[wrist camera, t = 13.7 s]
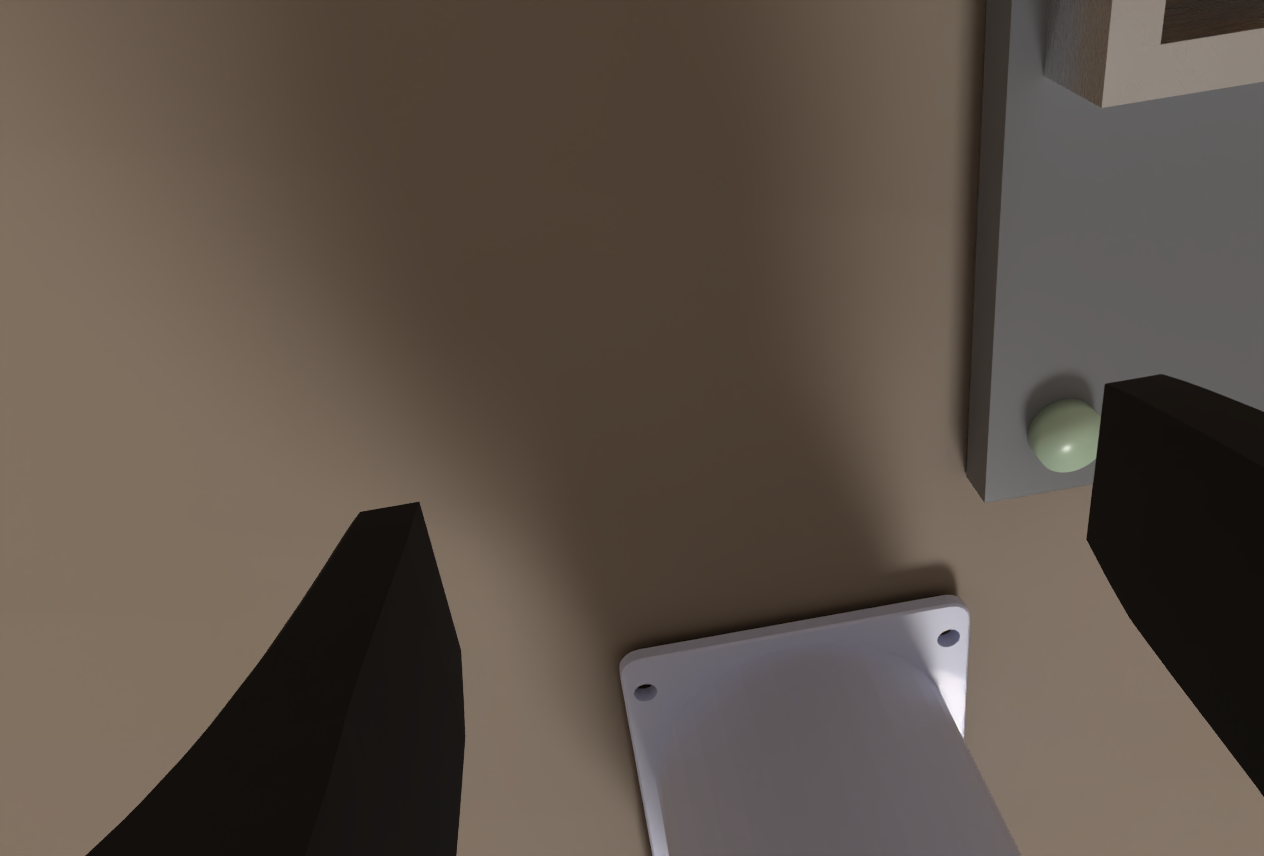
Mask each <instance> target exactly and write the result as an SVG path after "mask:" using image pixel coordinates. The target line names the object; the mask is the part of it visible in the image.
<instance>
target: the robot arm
mask: <svg viewBox="0 0 1264 856" xmlns="http://www.w3.org/2000/svg"><path fill="white" fill-rule="evenodd" d="M1087 541H1088V543H1089V545H1090V547H1091V549H1092V551H1093V553H1094V555H1095V556H1096V558H1097V560H1098V562H1099V564H1100V566H1101V568H1102V570H1103V572H1104V574H1105V576H1106V577H1107V579H1108V581H1109V583H1110V585H1111V587H1112V588H1113V590H1114V592H1115V594H1116V595H1117V597H1118V599H1119V600H1120V602H1121V604H1122V606H1123V607H1124V609H1125V611H1126V613H1127V614H1128V616H1129V618H1130V619H1131V621H1132V622H1133V623H1134V625H1135V626H1136V627H1137V629H1138V630H1139V632H1140V633H1141V634H1142V636H1143V637H1144V639H1145V640H1146V641H1147V643H1148V644H1149V645H1150V647H1151V648H1152V649H1153V651H1154V652H1155V653H1156V655H1157V656H1158V657H1159V659H1160V660H1161V661H1162V663H1163V664H1164V665H1165V667H1166V668H1167V669H1168V671H1169V672H1170V673H1171V675H1172V676H1173V677H1174V679H1175V680H1176V681H1177V683H1178V684H1179V685H1180V687H1181V688H1182V689H1183V691H1184V692H1185V693H1186V695H1187V696H1188V697H1189V698H1190V700H1191V701H1192V702H1193V704H1194V705H1195V706H1196V708H1197V709H1198V710H1199V712H1200V713H1201V714H1202V716H1203V717H1204V718H1205V720H1206V721H1207V722H1208V723H1209V725H1210V726H1211V727H1212V729H1213V730H1214V731H1215V733H1216V734H1217V735H1218V737H1219V738H1220V739H1221V741H1222V742H1223V743H1224V744H1225V746H1226V747H1227V748H1228V750H1229V751H1230V752H1231V754H1232V755H1233V756H1234V758H1235V759H1236V760H1237V762H1238V763H1239V764H1240V766H1241V767H1242V768H1243V769H1244V771H1245V772H1246V773H1247V775H1248V776H1249V777H1250V779H1251V780H1252V781H1253V783H1254V784H1255V785H1256V787H1257V788H1258V789H1259V791H1260V792H1261V794H1262V795H1263V796H1264V412H1263V411H1261V410H1258V409H1256V408H1253V407H1251V406H1248V405H1246V404H1243V403H1241V402H1238V401H1236V400H1233V399H1231V398H1228V397H1226V396H1223V395H1221V394H1218V393H1216V392H1213V391H1211V390H1208V389H1205V388H1202V387H1200V386H1197V385H1194V384H1191V383H1189V382H1186V381H1183V380H1180V379H1177V378H1173V377H1170V376H1167V375H1164V374H1158V375H1153V376H1147V377H1141V378H1135V379H1129V380H1124V381H1118V382H1112V383H1106V384H1105V386H1104V395H1103V403H1102V412H1101V420H1100V429H1099V437H1098V446H1097V454H1096V463H1095V471H1094V480H1093V489H1092V497H1091V506H1090V514H1089V523H1088V531H1087ZM969 628H970V614H969V610H968V608H967V607H966V605H965V603H964V602H963V600H962V599H961V598H960V597H957V596H955V595H941V596H936V597H930V598H924V599H919V600H913V601H908V602H902V603H896V604H891V605H885V606H880V607H874V608H868V609H863V610H857V611H851V612H846V613H840V614H835V615H829V616H823V617H818V618H812V619H807V620H801V621H795V622H790V623H784V624H779V625H773V626H767V627H762V628H756V629H750V630H745V631H739V632H734V633H728V634H722V635H717V636H711V637H706V638H700V639H694V640H689V641H683V642H678V643H672V644H666V645H661V646H655V647H650V648H644V649H638V650H635V651H632V652H630V653H628V654H627V655H626V656H624V657H623V659H622V660H621V662H620V666H619V672H620V678H621V684H622V689H623V695H624V700H625V706H626V712H627V717H628V723H629V728H630V734H631V739H632V745H633V750H634V756H635V761H636V767H637V772H638V778H639V784H640V789H641V795H642V800H643V806H644V811H645V817H646V822H647V828H648V833H649V839H650V844H651V850H652V856H1021V854H1020V852H1019V850H1018V848H1017V846H1016V844H1015V842H1014V840H1013V838H1012V836H1011V834H1010V832H1009V830H1008V828H1007V826H1006V824H1005V822H1004V820H1003V818H1002V816H1001V814H1000V812H999V810H998V808H997V806H996V804H995V802H994V800H993V797H992V795H991V793H990V791H989V789H988V787H987V785H986V783H985V781H984V779H983V777H982V775H981V773H980V771H979V769H978V767H977V765H976V763H975V761H974V759H973V757H972V755H971V753H970V751H969V749H968V747H967V745H966V743H965V741H964V730H965V710H966V690H967V669H968V649H969ZM946 630H951V631H950V632H949V633H947V634H944V635H940V634H941V633H942V632H944V631H946ZM643 684H651V686H650V687H648V688H645V689H639V688H637V687H638V686H641V685H643ZM464 747H465V721H464V696H463V678H462V660H461V649H460V645H459V641H458V638H457V634H456V631H455V627H454V624H453V620H452V617H451V613H450V609H449V606H448V602H447V599H446V595H445V592H444V588H443V585H442V581H441V577H440V574H439V570H438V567H437V563H436V560H435V556H434V553H433V549H432V545H431V542H430V538H429V535H428V531H427V528H426V524H425V521H424V517H423V513H422V510H421V506H420V503H419V502H415V503H409V504H404V505H398V506H392V507H386V508H380V509H375V510H369V511H363V512H360V513H359V514H358V516H357V517H356V518H355V520H354V521H353V522H352V524H351V525H350V527H349V528H348V530H347V531H346V533H345V534H344V536H343V537H342V539H341V540H340V542H339V544H338V545H337V547H336V548H335V550H334V551H333V553H332V555H331V556H330V558H329V559H328V561H327V562H326V564H325V566H324V567H323V569H322V570H321V572H320V573H319V575H318V577H317V578H316V580H315V581H314V583H313V584H312V586H311V587H310V589H309V590H308V592H307V593H306V595H305V596H304V598H303V599H302V601H301V602H300V604H299V605H298V607H297V608H296V610H295V611H294V613H293V614H292V616H291V617H290V618H289V620H288V621H287V623H286V624H285V626H284V627H283V629H282V630H281V631H280V633H279V634H278V636H277V637H276V639H275V640H274V642H273V643H272V644H271V646H270V647H269V649H268V650H267V652H266V653H265V654H264V656H263V657H262V659H261V660H260V661H259V663H258V664H257V665H256V667H255V668H254V669H253V671H252V672H251V673H250V675H249V676H248V677H247V678H246V680H245V681H244V682H243V684H242V685H241V686H240V687H239V689H238V690H237V691H236V693H235V694H234V695H233V696H232V698H231V699H230V700H229V702H228V703H227V704H226V706H225V707H224V708H223V709H222V711H221V712H220V713H219V715H218V716H217V717H216V718H215V720H214V721H213V722H212V724H211V725H210V726H209V727H208V728H207V730H206V731H205V732H204V733H203V734H202V736H201V737H200V738H199V739H198V740H197V742H196V743H195V744H194V745H193V746H192V747H191V748H190V750H189V751H188V752H187V753H186V754H185V755H184V756H183V758H182V759H181V760H180V761H179V762H178V763H177V764H176V765H175V766H174V767H173V768H172V770H171V771H170V772H169V773H168V774H167V775H166V776H165V777H164V778H163V779H162V780H161V781H160V782H159V783H158V785H157V786H156V787H155V788H154V789H153V790H152V791H151V792H150V793H149V794H148V795H147V796H146V797H145V799H144V800H143V801H142V802H141V803H140V804H139V805H138V806H137V807H136V808H135V809H134V810H133V811H132V812H131V813H130V814H129V815H128V816H127V817H126V818H125V819H124V820H123V821H122V822H121V823H120V824H119V825H118V826H117V827H116V828H114V829H113V830H112V831H111V832H110V833H109V834H108V835H107V836H106V837H105V838H104V839H103V840H102V841H101V842H100V843H99V844H98V845H96V846H95V847H94V848H93V849H92V850H91V851H90V852H89V853H88V854H87V855H86V856H456V853H457V840H458V828H459V815H460V802H461V789H462V775H463V762H464Z"/></svg>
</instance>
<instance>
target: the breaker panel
mask: <svg viewBox="0 0 1264 856" xmlns="http://www.w3.org/2000/svg"><path fill="white" fill-rule="evenodd" d="M1195 1H1202V0H1166V4H1165V6H1170V5H1177V4H1183V3H1189V2H1195ZM1047 14H1048V0H987V5H986V29H985V52H984V75H983V99H982V122H981V145H980V169H979V192H978V215H977V239H976V262H975V285H974V309H973V332H972V356H971V379H970V402H969V426H968V449H967V472H966V476H967V478H968V479H969V481H970V482H971V484H972V485H973V487H974V488H975V490H976V491H977V492H978V494H979V495H980V497H981V498H982V500H983V501H984V503H987V502H993V501H999V500H1004V499H1010V498H1016V497H1022V496H1027V495H1033V494H1039V493H1044V492H1050V491H1056V490H1061V489H1067V488H1073V487H1079V486H1084V485H1090V484H1093V480H1094V471H1095V463H1096V454H1097V446H1098V437H1099V429H1100V420H1101V412H1102V403H1103V395H1104V386H1105V384H1106V383H1112V382H1118V381H1124V380H1129V379H1135V378H1141V377H1147V376H1153V375H1158V374H1164V375H1167V376H1170V377H1173V378H1177V379H1180V380H1183V381H1186V382H1189V383H1191V384H1194V385H1197V386H1200V387H1202V388H1205V389H1208V390H1211V391H1213V392H1216V393H1218V394H1221V395H1223V396H1226V397H1228V398H1231V399H1233V400H1236V401H1238V402H1241V403H1243V404H1246V405H1248V406H1251V407H1253V408H1256V409H1258V410H1261V411H1263V412H1264V82H1258V83H1252V84H1246V85H1240V86H1233V87H1227V88H1221V89H1215V90H1209V91H1203V92H1197V93H1190V94H1184V95H1178V96H1172V97H1166V98H1160V99H1154V100H1147V101H1141V102H1135V103H1129V104H1123V105H1117V106H1111V107H1105V108H1101V107H1099V106H1097V105H1095V104H1094V103H1092V102H1090V101H1088V100H1086V99H1085V98H1083V97H1081V96H1079V95H1077V94H1075V93H1074V92H1072V91H1070V90H1068V89H1066V88H1065V87H1063V86H1061V85H1059V84H1057V83H1056V82H1054V81H1052V80H1050V79H1048V78H1047V77H1045V76H1043V70H1044V56H1045V42H1046V28H1047Z"/></svg>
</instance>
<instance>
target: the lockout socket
mask: <svg viewBox="0 0 1264 856" xmlns="http://www.w3.org/2000/svg"><path fill="white" fill-rule="evenodd" d="M1165 4H1166V0H1048V14H1047V28H1046V42H1045V56H1044V70H1043V76H1045V77H1047V78H1048V79H1050V80H1052V81H1054V82H1056V83H1057V84H1059V85H1061V86H1063V87H1065V88H1066V89H1068V90H1070V91H1072V92H1074V93H1075V94H1077V95H1079V96H1081V97H1083V98H1085V99H1086V100H1088V101H1090V102H1092V103H1094V104H1095V105H1097V106H1099V107H1101V108H1105V107H1111V106H1117V105H1123V104H1129V103H1135V102H1141V101H1147V100H1154V99H1160V98H1166V97H1172V96H1178V95H1184V94H1190V93H1197V92H1203V91H1209V90H1215V89H1221V88H1227V87H1233V86H1240V85H1246V84H1252V83H1258V82H1264V0H1202V1H1195V2H1189V3H1183V4H1177V5H1170V6H1165Z"/></svg>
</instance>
